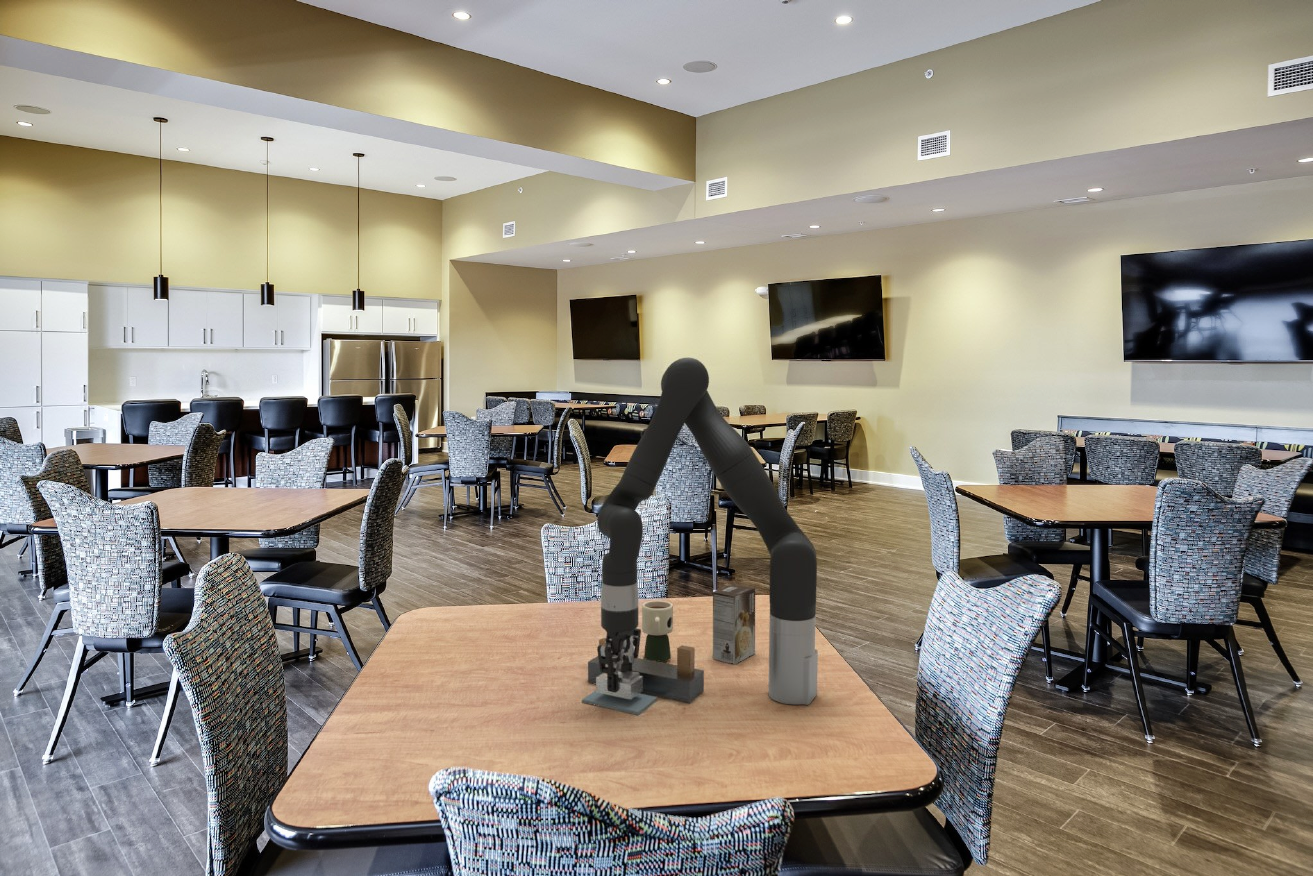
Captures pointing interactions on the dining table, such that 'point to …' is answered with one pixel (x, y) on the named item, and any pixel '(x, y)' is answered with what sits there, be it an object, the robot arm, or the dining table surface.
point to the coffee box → (733, 623)
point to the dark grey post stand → (663, 675)
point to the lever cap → (622, 684)
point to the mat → (621, 702)
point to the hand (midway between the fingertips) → (619, 686)
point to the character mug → (657, 629)
